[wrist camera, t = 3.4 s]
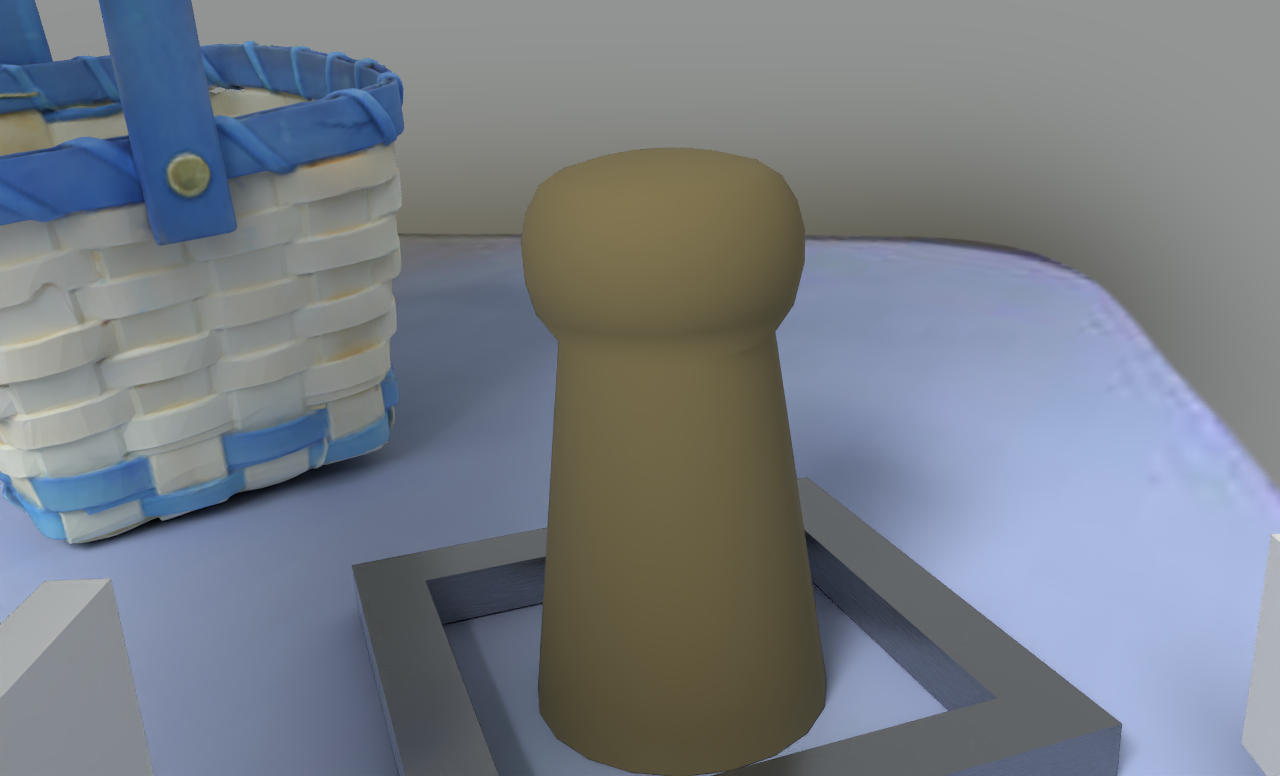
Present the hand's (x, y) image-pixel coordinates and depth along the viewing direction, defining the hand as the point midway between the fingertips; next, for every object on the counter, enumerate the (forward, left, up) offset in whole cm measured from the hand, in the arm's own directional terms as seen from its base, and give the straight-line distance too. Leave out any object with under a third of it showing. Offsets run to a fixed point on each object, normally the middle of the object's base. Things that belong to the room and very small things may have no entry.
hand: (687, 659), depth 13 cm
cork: (-9, +3, -7) cm, 12 cm away
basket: (-28, -8, -7) cm, 30 cm away
